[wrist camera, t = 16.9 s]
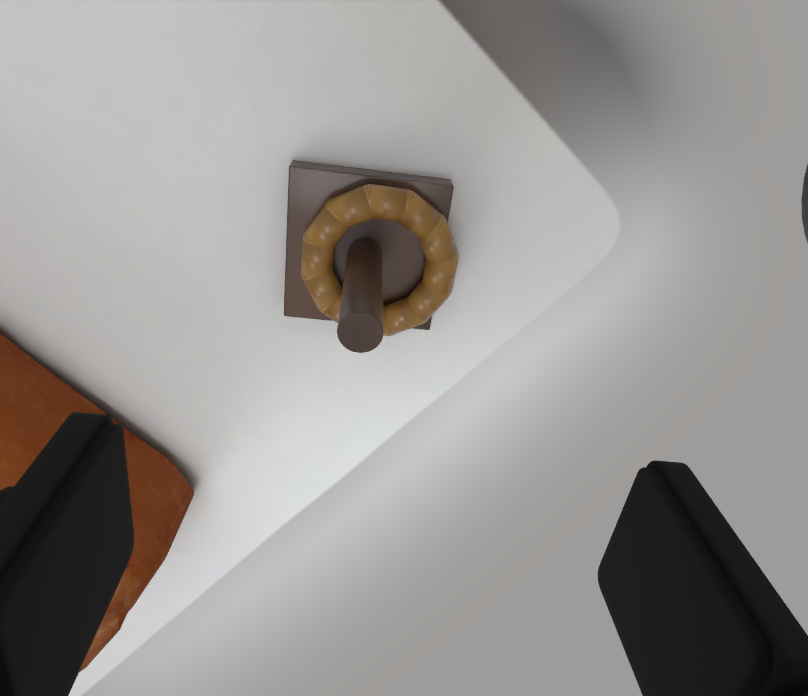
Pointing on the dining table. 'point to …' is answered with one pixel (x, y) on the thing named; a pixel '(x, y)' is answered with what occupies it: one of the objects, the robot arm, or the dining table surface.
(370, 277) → the stand
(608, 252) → the dining table surface
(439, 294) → the ring
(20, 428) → the bread
